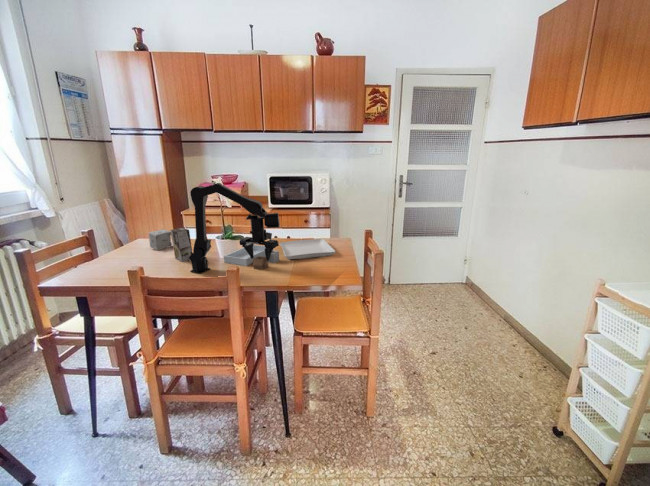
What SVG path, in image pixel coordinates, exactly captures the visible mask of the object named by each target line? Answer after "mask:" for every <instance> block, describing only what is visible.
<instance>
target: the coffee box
mask: <svg viewBox="0 0 650 486" xmlns="http://www.w3.org/2000/svg"><path fill="white" fill-rule="evenodd" d="M169 231H170V232H171V235H170V238H171V243H172V247H173V248H172V249H173V251H174V259H175V258H176V259H175V260H177V261H179V262H187V261H190V259H189V257H190V256H191V254H192V253H193V248H192V247H193V246H192V241H191V240H192V239H191V235H190V229H187V228H184V227H177V228H174V229H170V230H169Z"/></svg>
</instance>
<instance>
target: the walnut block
mask: <svg viewBox="0 0 650 486" xmlns="http://www.w3.org/2000/svg"><path fill="white" fill-rule="evenodd" d="M252 265H253V269H254V270H259V271H264V270H266V269H268V268H269V263H268V261H267V259H266V257H263V256H258V257H256V258H254V259H253V263H252Z"/></svg>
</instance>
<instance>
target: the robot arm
mask: <svg viewBox="0 0 650 486" xmlns="http://www.w3.org/2000/svg"><path fill="white" fill-rule="evenodd" d="M212 194H213V195H214V194H219V195H221V196H223V197H225V198H227V199H228V200H229V201H233V202H234V203H236V204H238V205H240V206H241V207H243V208H244V209H245V211H247V212H248V213H249V214H248V216H246V217H245V220H246V221H247V220H250V228H251V229H250V231H249V234H250V235H251V236H245V237H243V238H240V239H239V245H240V246H242V247H241V248H245V250H246V251H247V252H248V254H249V256H250V257H251V259H253V245H259V246H265V247H266V248H265V254H266V259H267V261H269V259H270V256H271V253H272V250H273V251H274V249H275V248H277V247H279V246H280V244H279V240H277V239H272V237H273V233H271V232H267V230H266V228H267V229H269V228H271V229H272V228H273V229H274V228H277V229H278V228H280V217H279V212H273V213H268V212H267V211H266V209H265V208H264V205H263V203H262V202H261V201H260V200H257V199H253V198H249V197H246V196H244V195H242V194H241V193H238V192H237V191H235V190H233V189H231V188H229V187H227V186H225V185H224V184H222V183H221V182H216V183H213V184H211V185H207V186H203V185H198V186H195V187H193V188H192V189H191V190H190V198H191V199H190V200H191V202H192V204H193V207H194V219H195V221H194V222H195V240H194V244H193V248H192V254H191V256H190V257H189V259H190V260H189V262H191V268H192V269H190V273H195V274H203V273H205V272H207V271H209V270H210V269H211V267H209V264H208V258H207V255H208V253H209V252H210V250H211V248H212V245H211V244H212V239H208V237H207V219H206V214H207V213H206V205H207V201H208V198H209V197H208V196H210V195H212ZM265 227H266V228H265Z"/></svg>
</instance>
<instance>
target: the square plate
mask: <svg viewBox="0 0 650 486" xmlns="http://www.w3.org/2000/svg"><path fill="white" fill-rule="evenodd" d="M278 244H279V246H280V247H281V249H282V251H283V255H284V257H285V258H287V259H288V260H302V259H313V258H319V257H329V256H333V255H335V254H336V253H337V251H336V250H335V249H334V248H333V247H332V246H331V245H330V244H329V243H328V242H327V241H326V240H325V239H324V238H313V239H301V240H300V239H299V240H289V241H288V240H287V241H280V242H278Z"/></svg>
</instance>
